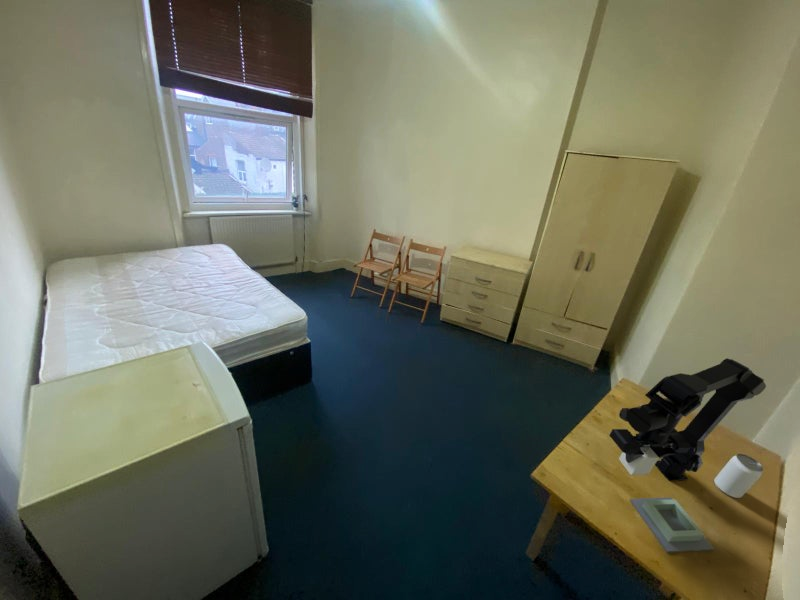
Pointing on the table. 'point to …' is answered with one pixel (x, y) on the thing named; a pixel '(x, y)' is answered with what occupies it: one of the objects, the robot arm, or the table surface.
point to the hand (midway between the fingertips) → (636, 461)
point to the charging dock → (671, 525)
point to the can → (738, 475)
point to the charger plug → (640, 462)
